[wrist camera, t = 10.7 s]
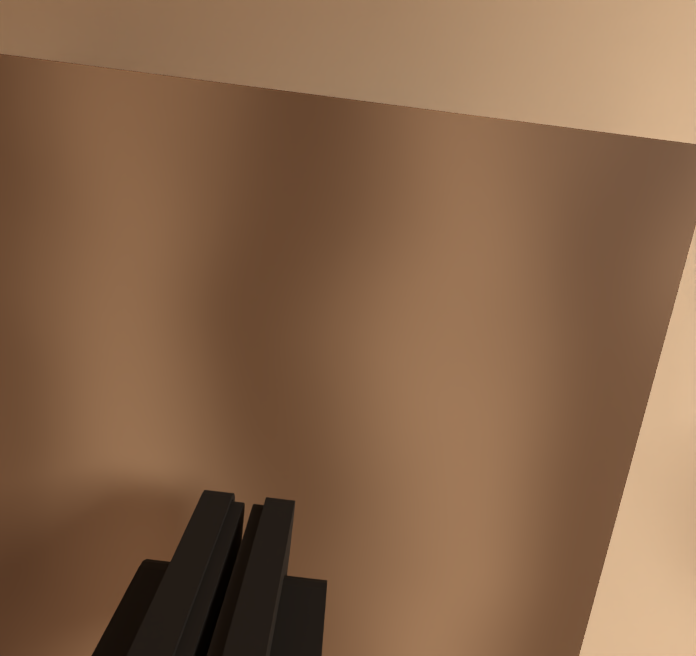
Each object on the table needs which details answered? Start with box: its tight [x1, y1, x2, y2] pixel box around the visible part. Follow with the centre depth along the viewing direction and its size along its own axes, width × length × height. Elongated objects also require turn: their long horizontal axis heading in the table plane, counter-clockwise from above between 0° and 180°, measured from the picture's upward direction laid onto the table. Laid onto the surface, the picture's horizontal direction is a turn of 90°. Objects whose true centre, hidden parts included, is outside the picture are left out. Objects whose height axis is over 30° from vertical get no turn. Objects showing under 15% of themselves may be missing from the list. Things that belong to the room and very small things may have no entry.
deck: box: [0, 54, 696, 656], centre depth 15 cm, size 14×18×4 cm
